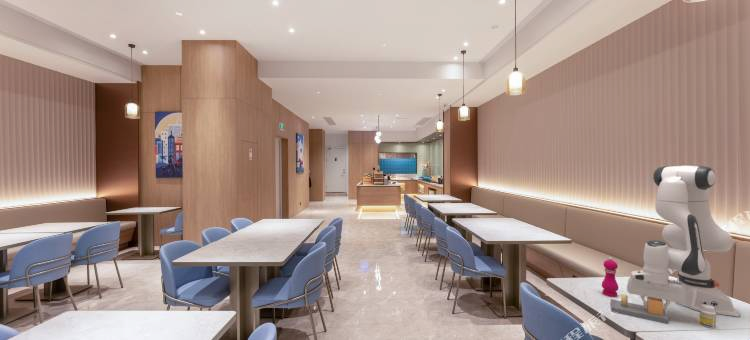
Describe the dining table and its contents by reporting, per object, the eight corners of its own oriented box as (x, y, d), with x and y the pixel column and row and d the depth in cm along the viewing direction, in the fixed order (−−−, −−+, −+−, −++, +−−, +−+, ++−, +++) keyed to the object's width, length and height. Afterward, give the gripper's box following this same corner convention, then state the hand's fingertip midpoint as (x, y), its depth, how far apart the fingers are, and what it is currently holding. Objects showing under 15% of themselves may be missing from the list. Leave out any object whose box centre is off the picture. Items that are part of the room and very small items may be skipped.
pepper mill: (621, 298, 168) (622, 259, 167) (605, 296, 169) (606, 258, 169) (613, 292, 175) (614, 255, 174) (598, 291, 176) (599, 255, 176)
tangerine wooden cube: (661, 311, 148) (661, 298, 148) (662, 315, 144) (663, 302, 144) (646, 308, 151) (647, 295, 151) (648, 312, 146) (648, 299, 146)
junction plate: (663, 313, 150) (664, 298, 150) (668, 324, 140) (669, 307, 140) (610, 302, 161) (610, 289, 161) (611, 311, 151) (611, 296, 151)
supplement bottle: (707, 323, 141) (707, 303, 141) (718, 328, 137) (719, 308, 137) (696, 323, 141) (696, 303, 141) (707, 328, 137) (708, 308, 137)
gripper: (685, 280, 144) (684, 310, 144) (627, 271, 155) (626, 299, 155) (688, 284, 138) (687, 316, 139) (628, 274, 150) (627, 304, 150)
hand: (654, 307), depth 147 cm, fingers closed on tangerine wooden cube, 5 cm apart
